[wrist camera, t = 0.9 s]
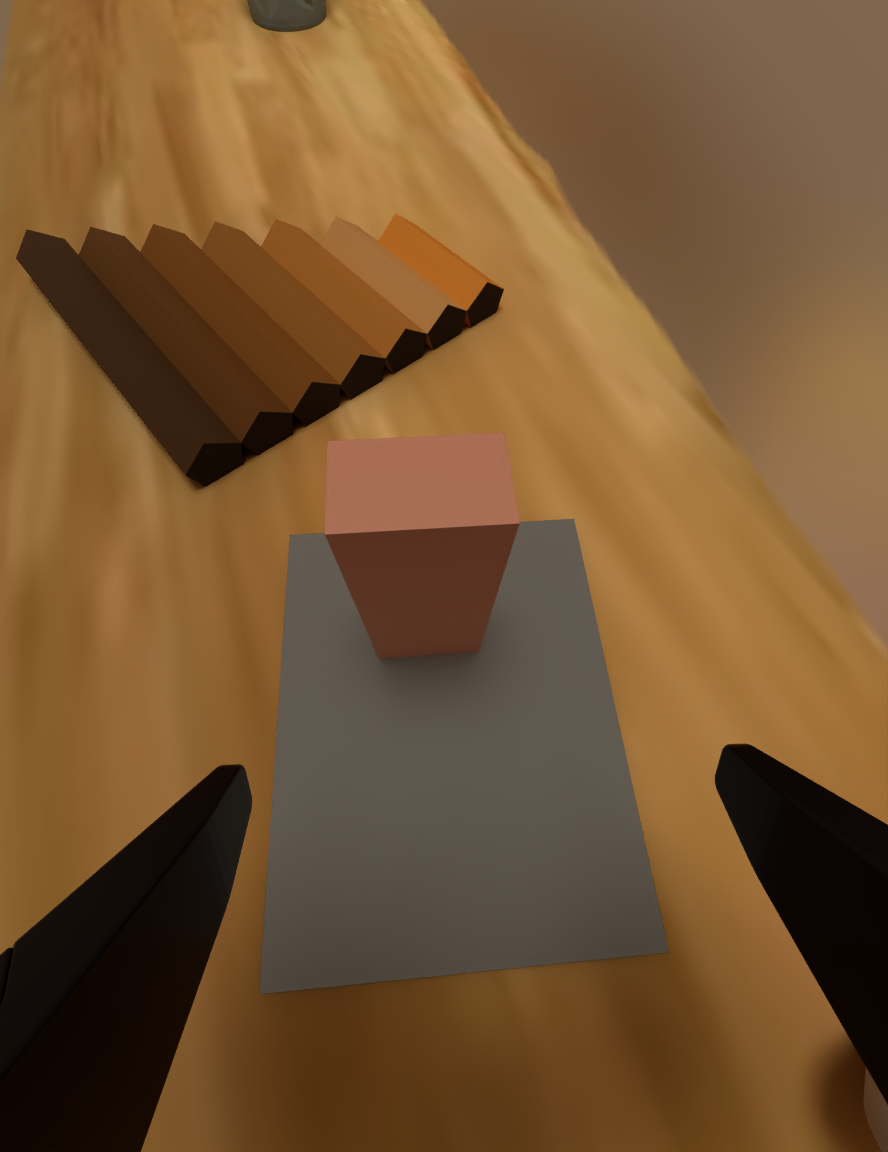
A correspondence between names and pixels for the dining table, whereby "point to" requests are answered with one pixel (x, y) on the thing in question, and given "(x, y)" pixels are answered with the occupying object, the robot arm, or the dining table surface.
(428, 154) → the dining table surface
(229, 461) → the pan flute
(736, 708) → the dining table surface
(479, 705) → the mat
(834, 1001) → the robot arm
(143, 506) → the dining table surface
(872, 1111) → the donut
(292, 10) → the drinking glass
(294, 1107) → the dining table surface
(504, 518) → the tall box
